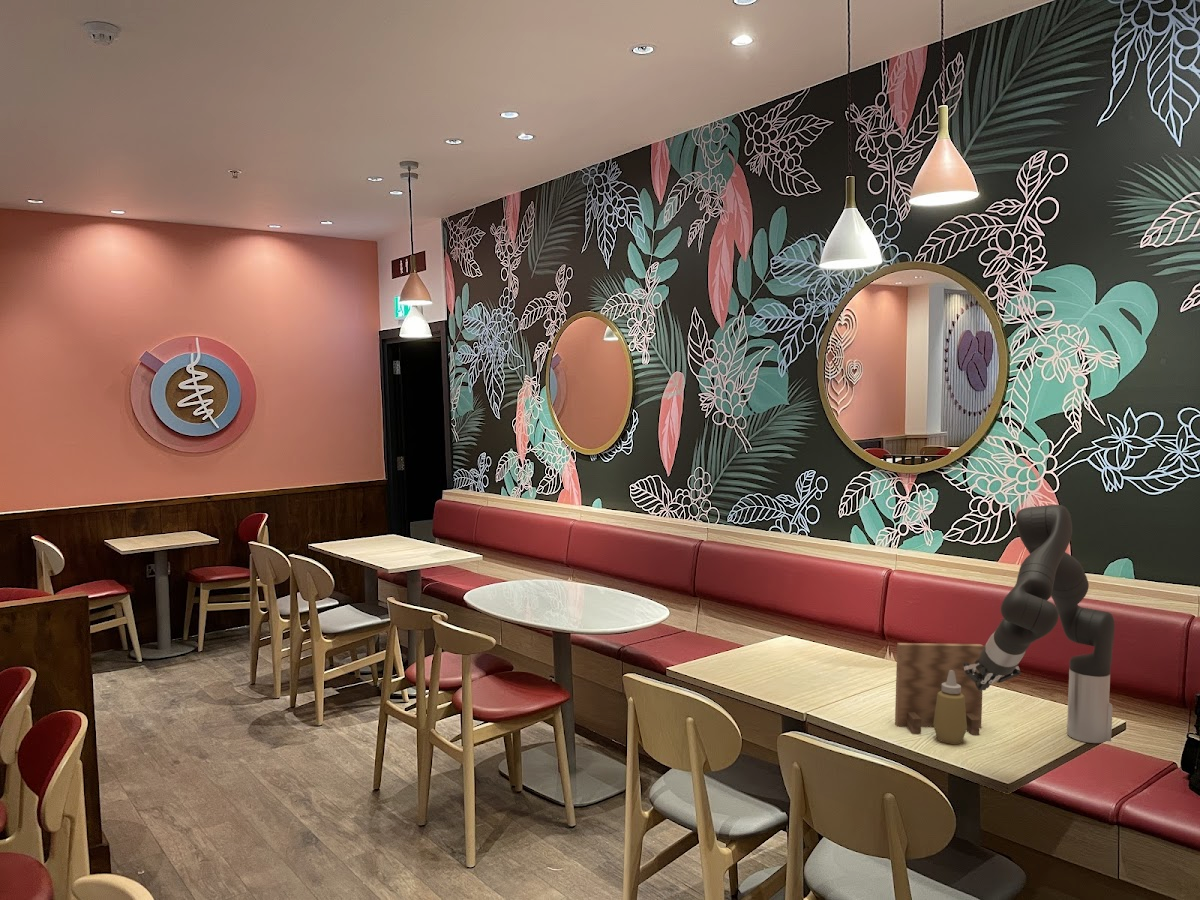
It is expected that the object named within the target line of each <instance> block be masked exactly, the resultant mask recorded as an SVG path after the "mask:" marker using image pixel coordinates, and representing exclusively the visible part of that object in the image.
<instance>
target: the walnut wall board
mask: <svg viewBox="0 0 1200 900" xmlns="http://www.w3.org/2000/svg"><path fill="white" fill-rule="evenodd" d="M896 644H897V645H896V671H895V673H896V675H895V676H896V679H895V707H894V708H895V710H894V711H895V712H894V714H895V715H894V725H895V726H896V727H899V728H905V727H906V728H907V729H908V731H910V732H911V734H912V735H921V732H922V728H934V726H933V722H934V715H935V708H936V701H937V694H938V692H940V691H942V690H941V686H942V683H944V682H946V681H947V677H948V674H949V670H953V671H954V673H955V678H956V683H957V684H959V685H960V686H961V693H962V694H963V695H964V696H965V708H966V722H967V730H966V732H968V734H969V735H971V736H980V729H982V717H983V716H982V715H983V714H982V713H983V690H978V688H976V684H975V682H973V681H972V680H971V679H970V678H969V677H968V676H967V675H966V674H965V670H964V666H963V664H964V663H968V664H975V661H976V660H978V659H979V658H980V654H981V651H982V649H983V648H984V646H985V645H983V644H982V643H981V644H980V643H938V642H937V643H936V642H935V643H929V642H927V643H925V642H920V643H919V642H915V643H914V642H910V643H909V642H897V643H896ZM976 671H977V673H979V671H978V670H977V669H976Z"/></svg>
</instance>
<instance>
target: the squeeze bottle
mask: <svg viewBox="0 0 1200 900" xmlns="http://www.w3.org/2000/svg"><path fill="white" fill-rule="evenodd" d="M941 690H942V691H940V692H938V694H937V701H936V708H935V715H934V722H933V726H934V727H933V728H934V733H935V734H936V738H937V740H938V741H940V742H942V743H945V744H951V745H958V744H961V743H962V742H963V739H964V738H965V734H966V733H967V722H966V708H965V696H964V695H963V694H962V693H961V686H960V685H959V684H957V683H956V678H955V673H954V671H953V670H949V674H948V677H947V681H946V682H944V683H942V686H941Z"/></svg>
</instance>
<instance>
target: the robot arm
mask: <svg viewBox="0 0 1200 900" xmlns="http://www.w3.org/2000/svg"><path fill="white" fill-rule="evenodd" d="M1072 522H1073V521H1072V517H1071V513H1070V512H1069V510H1068V508H1067V507H1065V506H1064V505H1063V504H1062V505H1061V504H1049V505H1047V504H1046V505H1039V506H1037V505H1035V506H1027V507H1024V508H1022V509H1019V510H1018V511H1017V513H1016V517H1015V525H1016V530H1017V533H1018V536H1019V539H1020V540H1021V542H1022V544H1023V546H1024V547H1025V548H1026V550H1027V551H1028V553H1029V555H1027V557H1025V559H1024V560H1023V561H1022V562H1021V565H1020V567H1019V570H1018V575H1017V578H1016V582H1015V585H1014V586H1013V588H1012V589H1011V590H1010V591H1009V592H1008V593H1007V594H1006V595H1005V597H1004V598H1003V600H1002V603H1001V604H1000V613H1001V616H1002V618H1003V619H1002V620H1001V621H1000V622H999V624H998V626H997V627H996V629H995V630H994V632H993V633H992V634H991V635H990V636H989V638H988V640H987V641H986V643H985V645H983V646H984V648H983V649H982V651H981V654H980V658H979V659H978V660H976V661H975V664H968V663H964V664H963V666H964V670H965V674H966V675H967V676H968V677H969V678H970V679H971V680H972V681H973V682H975V684H976V688H978V690H982V691H986V690H987V689H988V688H990V686H991V685H993V684H994V683H995V682H996V683H998V684H999V683H1001V684H1002V683H1003V682H1006V681H1008V680H1010V679H1012V678H1013V679H1014V678H1016V677H1018V676H1020V675H1021V674H1022V673H1021V670H1020V667H1019V664H1020V662H1021V660H1022V659H1023V657H1024V656H1025V654H1026V651H1027V650H1028V648H1029V647H1030V645H1031V644H1032V643H1034V642H1036V641H1038V640H1040V639H1041V638H1043V637H1045V636H1047V635H1048V634H1049V633H1050V632H1052V630H1053V629H1054V628H1055V627H1056V626H1057V624H1058V621H1059V619H1060V622H1061V623H1060V624H1061V626H1062V629H1063V632H1064V634H1065V636H1066V638H1067V639H1068V640H1069V641H1071V642H1074V643H1076V644H1081V645H1086V646H1091V647H1094V648H1093V652H1092V653H1088V654H1080V655H1074V656H1073V657H1071V658H1070V659H1069V667H1068V669H1069V670H1068V695H1067V697H1068V698H1067V716H1066V717H1067V719H1066V720H1067V722H1066V734H1067V736H1068V735H1069V736H1068V737H1069V738H1071V737H1072V738H1071V739H1074V740H1076V741H1080V742H1084V743H1088V744H1089V743H1090V744H1103V743H1106V742H1111V741H1112V730H1113V729H1112V728H1113V727H1112V725H1113V708H1114V706H1113V704H1112V703H1110V688H1111V668H1112V667H1111V666H1112V662H1113V661H1112V659H1113V648H1114V647H1113V646H1114V639H1115V630H1116V629H1115V628H1116V627H1115V618H1114V616H1113V615H1112V614H1111V612H1108V611H1105V610H1097V609H1092V608H1087V607H1081V606H1079V605H1078V604H1080V603H1081V602H1082V601H1083V599H1085V597H1086V595H1087V593H1088V591H1089V580H1088V577H1087V575H1086V573H1085V570H1084V568H1083V566H1082V564H1081V563H1080V561H1078V560H1077V559H1076V558H1075V557H1074V556H1072V555H1071V554H1069V553H1068V552H1066V551H1067V549H1068V546H1069V544H1070V542H1071V539H1072V536H1073V523H1072ZM1050 598H1052V601H1053V602H1054V603H1053V602H1051V601H1049V599H1050ZM976 669H977V670H978V671H979V673H977V671H976Z"/></svg>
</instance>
